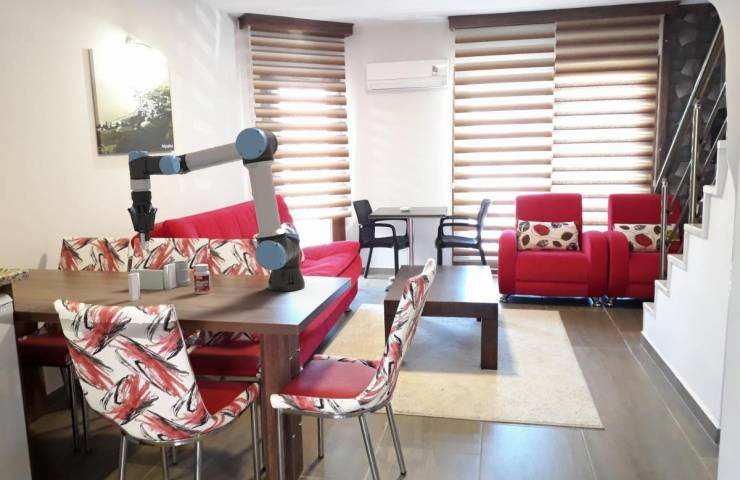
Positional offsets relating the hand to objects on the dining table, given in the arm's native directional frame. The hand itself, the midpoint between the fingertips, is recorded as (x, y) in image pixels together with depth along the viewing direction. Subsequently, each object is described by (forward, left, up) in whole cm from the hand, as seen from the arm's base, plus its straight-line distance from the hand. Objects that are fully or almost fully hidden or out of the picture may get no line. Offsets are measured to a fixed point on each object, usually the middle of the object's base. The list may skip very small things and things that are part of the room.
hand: (145, 249), depth 230 cm
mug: (-3, -15, -18) cm, 23 cm away
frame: (-5, +3, -17) cm, 18 cm away
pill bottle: (-23, -4, -18) cm, 29 cm away
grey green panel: (+3, -3, -17) cm, 18 cm away
